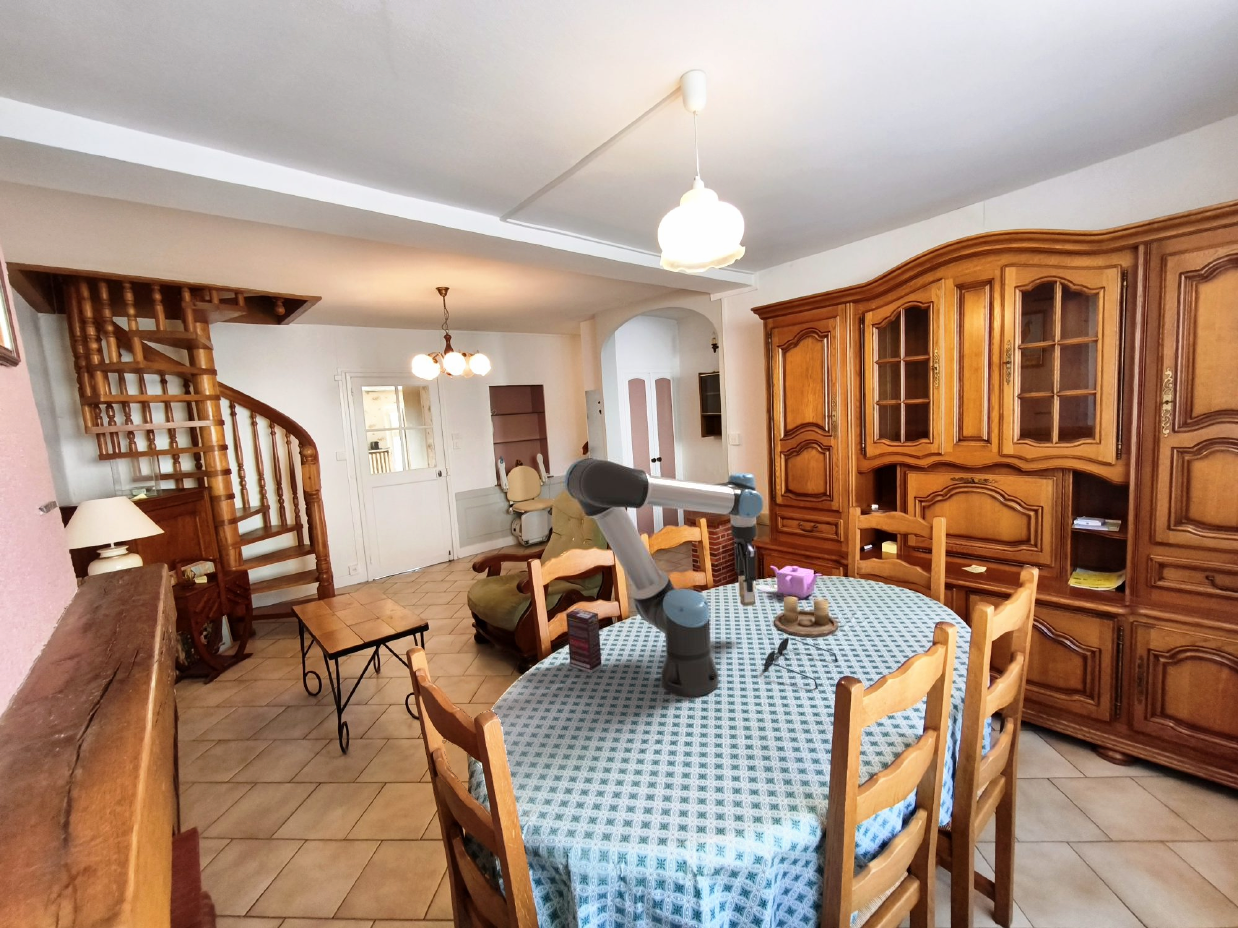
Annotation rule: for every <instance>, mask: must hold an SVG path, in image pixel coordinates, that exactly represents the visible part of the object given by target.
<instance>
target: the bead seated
mask: <svg viewBox="0 0 1238 928" xmlns="http://www.w3.org/2000/svg"><path fill="white" fill-rule="evenodd" d="M813 611H814V623H815V624H817V625H828V624H829V615H830V609H829V601H828V600H827V599H823V598H816V599H814V600H813Z"/></svg>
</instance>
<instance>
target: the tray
mask: <svg viewBox="0 0 1238 928" xmlns="http://www.w3.org/2000/svg"><path fill="white" fill-rule="evenodd" d="M774 626H775V627H776V628H777V629H778V630H779V631H782V632H784V633H786V634H788V635H792V636H796V637H802V638H803V637H804V638H821V637H827V636H830V635H832V634H835V633H836V632H837V631H838V630H839V623H838V620H837V619H836V618H834V617H833V616H832V615H830V614H829V624H828V625H817V624H815V623H814V610H811V609H809V610H806V609H798V621H797V622H787V621H785V620H784V611H783V612H781V613H778V614H777V615H776V616H775V617H774Z"/></svg>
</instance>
